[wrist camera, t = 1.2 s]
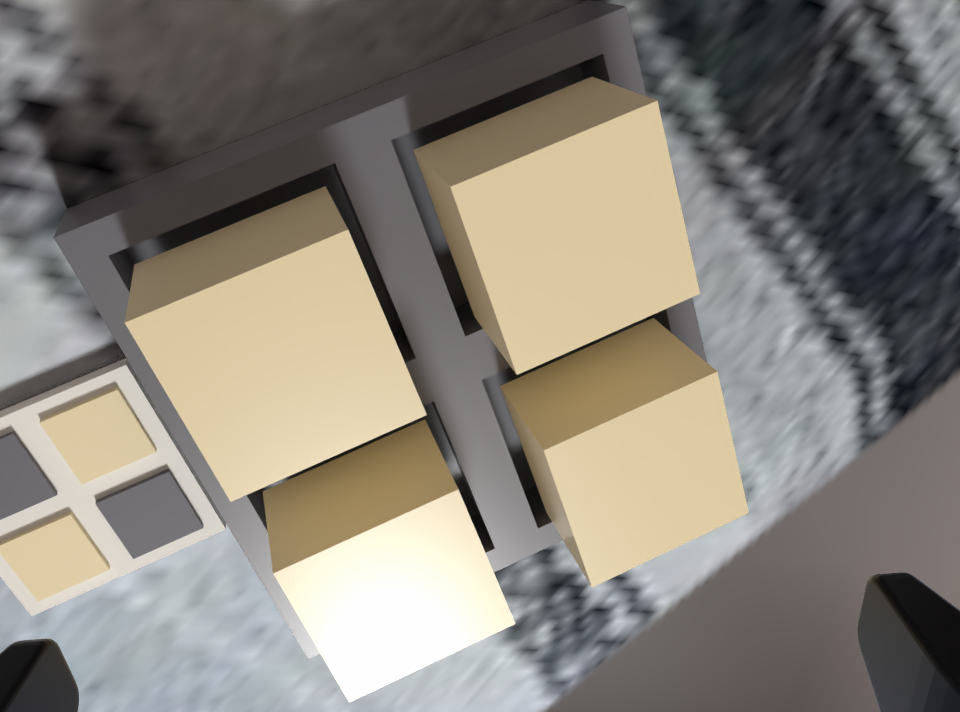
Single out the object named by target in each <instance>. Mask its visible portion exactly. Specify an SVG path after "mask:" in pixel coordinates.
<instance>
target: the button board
mask: <svg viewBox="0 0 960 712" xmlns="http://www.w3.org/2000/svg"><path fill="white" fill-rule="evenodd" d="M590 77H595V78H597V79H600V80H603V81H606V82H608V83H611V84H614V85H616V86H619V87H622V88H625V89H627V90H630V91H633V92H635V93H638V94H641V95H643V96H646V92H645V88H644V83H643V79H642V74H641V70H640V66H639V61H638V57H637V52H636V48H635V44H634V39H633V35H632V30H631V26H630V22H629V17H628V13H627V8H626V7H625V6H620V5H614V4H609V3H603V2H598V1H592V0H587V1H584V2H582V3H579V4H577V5H574V6H572V7H569V8H567V9H564V10H562V11H559V12H557V13H554V14H552V15H549V16H547V17H544V18H542V19H539V20H537V21H534V22H532V23H529V24H527V25H524V26H522V27H519V28H517V29H514V30H512V31H509V32H507V33H504V34H502V35H499V36H497V37H494V38H492V39H489V40H487V41H484V42H482V43H479V44H477V45H474V46H472V47H469V48H467V49H464V50H462V51H459V52H457V53H454V54H452V55H449V56H447V57H444V58H442V59H439V60H437V61H434V62H432V63H429V64H427V65H424V66H422V67H419V68H417V69H414V70H412V71H409V72H407V73H404V74H402V75H399V76H397V77H394V78H392V79H389V80H387V81H384V82H382V83H379V84H377V85H375V86H372V87H370V88H367V89H365V90H362V91H360V92H357V93H355V94H352V95H350V96H347V97H345V98H342V99H340V100H337V101H335V102H332V103H330V104H327V105H325V106H322V107H320V108H317V109H315V110H312V111H310V112H307V113H305V114H302V115H300V116H297V117H295V118H292V119H290V120H287V121H285V122H282V123H280V124H277V125H275V126H272V127H270V128H267V129H265V130H262V131H260V132H257V133H255V134H252V135H250V136H247V137H245V138H242V139H240V140H237V141H235V142H232V143H230V144H227V145H225V146H222V147H220V148H217V149H215V150H212V151H210V152H207V153H205V154H202V155H200V156H197V157H195V158H192V159H190V160H187V161H185V162H182V163H180V164H177V165H175V166H172V167H170V168H167V169H165V170H163V171H160V172H158V173H155V174H153V175H150V176H148V177H145V178H143V179H140V180H138V181H135V182H133V183H130V184H128V185H125V186H123V187H120V188H118V189H115V190H113V191H110V192H108V193H105V194H103V195H100V196H98V197H95V198H93V199H90V200H88V201H85V202H83V203H80V204H78V205H75V206H73V207H70V208H68V209H66V211H65V213H64V216H63V218H62V220H61V222H60V225H59V227H58V229H57V232H56V234H55V236H54V239H55V241H56V242H57V244H58V245H59V247H60V249H61V250H62V252H63V254H64V255H65V257H66V259H67V260H68V262H69V264H70V265H71V267H72V269H73V270H74V272H75V274H76V275H77V277H78V279H79V280H80V282H81V284H82V285H83V287H84V289H85V290H86V292H87V293H88V295H89V297H90V298H91V300H92V302H93V303H94V305H95V307H96V308H97V310H98V312H99V313H100V315H101V317H102V318H103V320H104V322H105V323H106V325H107V327H108V328H109V330H110V332H111V333H112V335H113V337H114V338H115V340H116V341H117V343H118V345H119V346H120V348H121V350H122V351H123V353H124V355H125V356H126V358H127V360H128V361H129V363H130V365H131V366H132V368H133V370H134V371H135V373H136V375H137V376H138V378H139V380H140V381H141V383H142V385H143V386H144V388H145V389H146V391H147V393H148V394H149V396H150V398H151V399H152V401H153V403H154V404H155V406H156V408H157V409H158V411H159V413H160V414H161V416H162V418H163V419H164V421H165V423H166V424H167V426H168V428H169V429H170V431H171V433H172V434H173V436H174V437H175V439H176V441H177V442H178V444H179V446H180V447H181V449H182V451H183V452H184V454H185V456H186V457H187V459H188V461H189V462H190V464H191V466H192V467H193V469H194V471H195V472H196V474H197V476H198V477H199V479H200V481H201V482H202V484H203V485H204V487H205V489H206V490H207V492H208V494H209V495H210V497H211V499H212V500H213V502H214V504H215V505H216V507H217V509H218V510H219V512H220V514H221V515H222V517H223V519H224V520H225V522H226V524H227V525H228V527H229V529H230V530H231V532H232V534H233V535H234V537H235V538H236V540H237V542H238V543H239V545H240V547H241V548H242V550H243V552H244V553H245V555H246V557H247V558H248V560H249V562H250V563H251V565H252V567H253V568H254V570H255V572H256V573H257V575H258V577H259V578H260V580H261V582H262V583H263V585H264V586H265V588H266V590H267V591H268V593H269V595H270V596H271V598H272V600H273V601H274V603H275V605H276V606H277V608H278V610H279V611H280V613H281V615H282V616H283V618H284V620H285V621H286V623H287V625H288V626H289V628H290V630H291V631H292V633H293V634H294V636H295V638H296V639H297V641H298V643H299V644H300V646H301V648H302V649H303V651H304V653H305V654H306V656H307V658H308V659H309V658H311V657H314V656H316V655H318V654H320V652H319V650H318V649H317V647H316V645H315V644H314V642H313V640H312V639H311V637H310V635H309V634H308V632H307V630H306V628H305V627H304V625H303V623H302V622H301V620H300V618H299V617H298V615H297V613H296V612H295V610H294V608H293V606H292V605H291V603H290V601H289V600H288V598H287V596H286V595H285V593H284V591H283V590H282V588H281V586H280V585H279V583H278V581H277V579H276V578H275V576H274V574H273V569H272V562H271V554H270V546H269V538H268V530H267V522H266V514H265V507H264V499H263V491H265V490H267V489H269V488H272V487H274V486H276V485H278V484H281V483H283V482H285V481H287V480H290V479H292V478H294V477H296V476H299V475H301V474H303V473H305V472H308V471H310V470H312V469H314V468H317V467H319V466H321V465H323V464H326V463H328V462H330V461H332V460H335V459H337V458H339V457H341V456H344V455H346V454H348V453H350V452H353V451H355V450H357V449H359V448H362V447H364V446H366V445H368V444H371V443H373V442H375V441H377V440H380V439H382V438H384V437H386V436H389V435H391V434H393V433H395V432H398V431H400V430H402V429H404V428H407V427H409V426H411V425H413V424H416V423H418V422H420V421H422V420H426V422H427V424H428V427H429V429H430V431H431V433H432V435H433V437H434V439H435V441H436V443H437V445H438V448H439V450H440V452H441V454H442V456H443V458H444V460H445V462H446V464H447V466H448V468H449V471H450V473H451V475H452V477H453V479H454V481H455V483H456V485H457V487H458V489H459V492H460V494H461V497H462V499H463V501H464V504H465V506H466V508H467V511H468V513H469V515H470V518H471V520H472V522H473V525H474V527H475V530H476V532H477V534H478V537H479V539H480V541H481V544H482V546H483V548H484V551H485V553H486V555H487V558H488V560H489V563H490V565H491V567H492V570H493V572H496V571H498V570H500V569H502V568H504V567H506V566H509V565H511V564H513V563H515V562H517V561H519V560H521V559H524V558H526V557H528V556H530V555H532V554H534V553H536V552H539V551H541V550H543V549H545V548H547V547H549V546H551V545H554V544H556V543H558V542H560V541H562V540H563V539H562V537H561V536H560V534H559V532H558V531H557V529H556V527H555V526H554V524H553V522H552V521H551V519H550V517H549V516H548V514H547V512H546V510H545V507H544V504H543V502H542V499H541V496H540V493H539V491H538V488H537V485H536V483H535V480H534V477H533V474H532V472H531V469H530V466H529V463H528V461H527V458H526V455H525V453H524V450H523V447H522V444H521V442H520V439H519V436H518V434H517V431H516V428H515V425H514V423H513V420H512V417H511V415H510V412H509V409H508V406H507V404H506V401H505V398H504V395H503V393H502V390H501V387H500V386H501V385H503V384H506V383H508V382H510V381H512V380H515V379H517V378H519V377H521V376H524V375H526V374H528V373H530V372H533V371H535V370H537V369H539V368H542V367H544V366H546V365H548V364H551V363H553V362H555V361H557V360H560V359H562V358H564V357H566V356H569V355H571V354H573V353H575V352H578V351H580V350H582V349H584V348H587V347H589V346H591V345H594V344H596V343H598V342H600V341H603V340H605V339H607V338H609V337H612V336H614V335H616V334H618V333H621V332H623V331H625V330H627V329H630V328H632V327H634V326H636V325H639V324H641V323H643V322H645V321H648V320H650V319H652V318H654V319H655V320H657V321H658V322H659V323H660V324H661V325H663V326H664V327H665V328H666V329H667V330H668V331H670V332H671V333H672V334H673V335H674V336H676V337H677V338H678V339H679V340H680V341H682V342H683V343H684V344H685V345H686V346H687V347H689V348H690V349H691V350H692V351H693V352H695V353H696V354H697V355H698V356H699V357H701V358H702V359H703V360H704V361H705V362H706V363H707V361H706V356H705V352H704V348H703V343H702V339H701V334H700V330H699V325H698V321H697V317H696V312H695V308H694V303H693V299H692V298H689V299H687V300H685V301H683V302H680V303H678V304H676V305H674V306H671V307H669V308H667V309H665V310H662V311H660V312H658V313H656V314H653V315H651V316H649V317H647V318H644V319H642V320H640V321H638V322H635V323H633V324H631V325H629V326H626V327H624V328H622V329H620V330H617V331H615V332H613V333H611V334H608V335H606V336H604V337H601V338H599V339H597V340H595V341H592V342H590V343H588V344H586V345H583V346H581V347H579V348H577V349H574V350H572V351H570V352H568V353H565V354H563V355H561V356H559V357H556V358H554V359H552V360H550V361H547V362H545V363H543V364H541V365H538V366H536V367H534V368H532V369H529V370H527V371H525V372H523V373H520V374H518V375H517V374H516V373H515V372H514V370H513V369H512V368H511V366H510V365H509V364H508V362H507V361H506V359H505V358H504V357H503V355H502V354H501V353H500V351H499V350H498V348H497V347H496V346H495V344H494V343H493V342H492V340H491V339H490V337H489V336H488V335H487V333H486V332H485V331H484V329H483V328H482V327H481V325H480V324H479V322H478V321H477V320H476V318H475V317H474V314H473V311H472V308H471V306H470V303H469V300H468V298H467V295H466V292H465V289H464V287H463V284H462V281H461V279H460V276H459V273H458V270H457V268H456V265H455V262H454V259H453V257H452V254H451V251H450V249H449V246H448V243H447V240H446V238H445V235H444V232H443V230H442V227H441V224H440V221H439V219H438V216H437V213H436V211H435V208H434V205H433V202H432V200H431V197H430V194H429V192H428V189H427V186H426V183H425V181H424V178H423V175H422V172H421V170H420V167H419V164H418V162H417V159H416V156H415V153H414V151H413V150H414V149H417V148H419V147H422V146H424V145H427V144H429V143H431V142H434V141H436V140H439V139H441V138H444V137H446V136H448V135H451V134H453V133H456V132H458V131H461V130H463V129H465V128H468V127H470V126H473V125H475V124H478V123H480V122H483V121H485V120H487V119H490V118H492V117H495V116H497V115H500V114H502V113H504V112H507V111H509V110H512V109H514V108H517V107H519V106H521V105H524V104H526V103H529V102H531V101H534V100H536V99H539V98H541V97H543V96H546V95H548V94H551V93H553V92H556V91H558V90H560V89H563V88H565V87H568V86H570V85H573V84H575V83H577V82H580V81H582V80H585V79H587V78H590ZM646 97H647V96H646ZM324 186H326V188H327V190H328V192H329V194H330V196H331V198H332V199H333V201H334V203H335V205H336V207H337V209H338V211H339V213H340V215H341V217H342V219H343V221H344V222H345V224H346V226H347V228H348V230H349V233H350V235H351V237H352V240H353V242H354V244H355V247H356V249H357V251H358V254H359V256H360V259H361V261H362V263H363V266H364V268H365V270H366V273H367V275H368V277H369V280H370V282H371V284H372V287H373V289H374V292H375V294H376V296H377V299H378V301H379V303H380V306H381V308H382V310H383V313H384V315H385V317H386V320H387V322H388V325H389V327H390V329H391V332H392V334H393V336H394V339H395V341H396V343H397V346H398V348H399V350H400V353H401V355H402V358H403V360H404V362H405V365H406V367H407V369H408V372H409V374H410V376H411V379H412V381H413V383H414V386H415V388H416V391H417V393H418V395H419V398H420V400H421V402H422V405H423V407H424V409H425V412H426V414H427V415H426V416H423V417H421V418H419V419H417V420H414V421H412V422H410V423H408V424H405V425H403V426H401V427H399V428H396V429H394V430H392V431H390V432H387V433H385V434H383V435H381V436H378V437H376V438H374V439H372V440H369V441H367V442H365V443H363V444H360V445H358V446H356V447H354V448H351V449H349V450H347V451H345V452H342V453H340V454H338V455H336V456H333V457H331V458H329V459H327V460H324V461H322V462H320V463H318V464H315V465H313V466H311V467H309V468H306V469H304V470H302V471H300V472H297V473H295V474H293V475H290V476H288V477H286V478H284V479H281V480H279V481H277V482H275V483H272V484H270V485H268V486H266V487H263V488H261V489H259V490H257V491H254V492H252V493H250V494H248V495H245V496H243V497H241V498H239V499H236V500H234V501H232V502H230V500H229V498H228V497H227V495H226V493H225V492H224V490H223V488H222V487H221V485H220V483H219V481H218V480H217V478H216V476H215V475H214V473H213V471H212V470H211V468H210V466H209V465H208V463H207V461H206V459H205V458H204V456H203V454H202V453H201V451H200V449H199V448H198V446H197V444H196V443H195V441H194V439H193V438H192V436H191V434H190V432H189V431H188V429H187V427H186V426H185V424H184V422H183V421H182V419H181V417H180V416H179V414H178V412H177V410H176V409H175V407H174V405H173V404H172V402H171V400H170V399H169V397H168V395H167V394H166V392H165V390H164V388H163V387H162V385H161V383H160V382H159V380H158V378H157V377H156V375H155V373H154V372H153V370H152V368H151V367H150V365H149V363H148V361H147V360H146V358H145V356H144V355H143V353H142V351H141V350H140V348H139V346H138V345H137V343H136V341H135V339H134V338H133V336H132V334H131V333H130V331H129V329H128V328H127V326H126V324H125V318H126V312H127V306H128V300H129V294H130V288H131V282H132V276H133V270H134V264H137V263H139V262H142V261H144V260H146V259H149V258H151V257H154V256H156V255H159V254H161V253H164V252H166V251H168V250H171V249H173V248H176V247H178V246H181V245H183V244H185V243H188V242H190V241H193V240H195V239H198V238H200V237H202V236H205V235H207V234H210V233H212V232H215V231H217V230H220V229H222V228H224V227H227V226H229V225H232V224H234V223H237V222H239V221H241V220H244V219H246V218H249V217H251V216H254V215H256V214H259V213H261V212H263V211H266V210H268V209H271V208H273V207H276V206H278V205H280V204H283V203H285V202H288V201H290V200H293V199H295V198H297V197H300V196H302V195H305V194H307V193H310V192H312V191H315V190H317V189H319V188H322V187H324Z"/></svg>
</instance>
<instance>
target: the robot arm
mask: <svg viewBox="0 0 960 712" xmlns="http://www.w3.org/2000/svg"><path fill="white" fill-rule="evenodd" d="M858 640H859V645H860V649H861V652H862V655H863V659H864V661H865V665H866V668H867V671H868V674H869V677H870V680H871V683H872V687H873V689H874V693H875V696H876V699H877V702H878V705H879V708H880V711H881V712H960V610H959V609H957V608H956V607H955V606H953V605H952V604H951V603H949V602H948V601H947V600H945V599H944V598H943V597H941V596H940V595H939V594H937V593H936V592H935V591H933V590H932V589H931V588H929V587H928V586H926V585H925V584H924V583H923V582H921V581H920V580H919V579H917V578H916V577H914V576H912V575H910V574H908V573H891V574H877V575H873V576H871V577H870V578H869V580H868V581H867V585H866V588H865V593H864V598H863V603H862V608H861V613H860V618H859V623H858ZM78 706H79V692H78V687H77V684H76V682H75V680H74V677H73V675H72V673H71V671H70V669H69V667H68V665H67V663H66V660H65V658H64V656H63V654H62V652H61V650H60V648H59V646H58V644H57V643H56V642H54V641H53V640H51V639H36V640H23V641H18V642H15V643H13V644H11V645H10V646H8V647H7V648H6V649H5V650H4V651H3V652H1V653H0V712H77V711H78Z"/></svg>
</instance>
